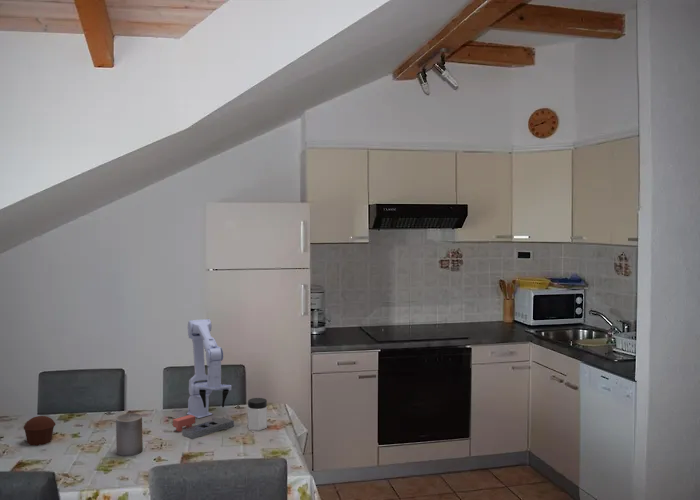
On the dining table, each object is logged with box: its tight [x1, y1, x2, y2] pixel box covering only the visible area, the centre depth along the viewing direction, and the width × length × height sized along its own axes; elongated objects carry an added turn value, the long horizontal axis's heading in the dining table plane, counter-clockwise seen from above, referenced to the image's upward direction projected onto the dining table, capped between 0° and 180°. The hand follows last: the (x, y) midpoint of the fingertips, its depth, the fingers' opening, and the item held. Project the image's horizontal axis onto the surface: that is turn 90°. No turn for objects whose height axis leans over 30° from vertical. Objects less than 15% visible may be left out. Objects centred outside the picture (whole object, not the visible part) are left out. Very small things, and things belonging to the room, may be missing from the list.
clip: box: [172, 414, 196, 433], centre depth 280 cm, size 4×9×5 cm, turn 140°
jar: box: [247, 397, 268, 431], centre depth 284 cm, size 9×8×12 cm
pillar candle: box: [115, 412, 144, 457], centre depth 253 cm, size 10×10×15 cm
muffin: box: [23, 415, 56, 446], centre depth 262 cm, size 12×11×10 cm
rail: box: [181, 416, 235, 440], centre depth 279 cm, size 7×22×2 cm, turn 140°
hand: (214, 406), depth 281 cm, fingers open, 7 cm apart
